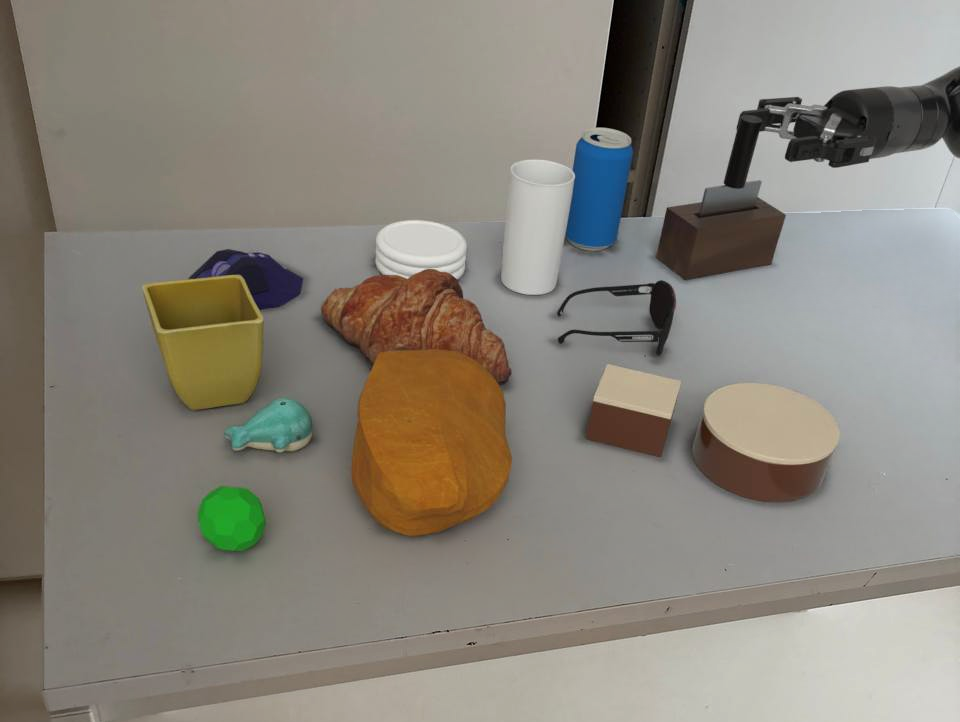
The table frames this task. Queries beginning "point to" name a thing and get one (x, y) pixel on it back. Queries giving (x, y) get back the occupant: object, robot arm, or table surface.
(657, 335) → the sunglasses
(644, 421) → the cake slice
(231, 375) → the flower pot
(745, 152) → the knife
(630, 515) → the table surface
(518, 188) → the mug
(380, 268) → the coaster
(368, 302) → the pastry
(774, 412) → the cake
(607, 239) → the beverage can
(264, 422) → the whale figurine
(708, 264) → the knife block
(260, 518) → the polyhedron
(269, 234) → the table surface
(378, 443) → the bread
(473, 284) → the table surface
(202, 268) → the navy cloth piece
